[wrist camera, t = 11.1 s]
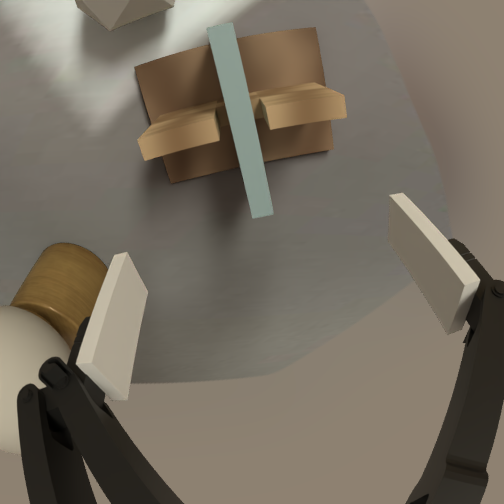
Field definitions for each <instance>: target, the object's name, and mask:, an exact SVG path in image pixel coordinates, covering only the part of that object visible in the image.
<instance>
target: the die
mask: <svg viewBox="0 0 504 504" xmlns="http://www.w3.org/2000/svg"><path fill="white" fill-rule="evenodd" d="M75 2H76V4H77V7H78V8H79V9H81V10H82V11H83V12H85V13H86V14H87V15H89V16H90V17H92V18H93V19H94V20H96V21H97V22H98V23H100V24H101V25H102V26H104V27H105V28H106V29H108V30H109V31H112V30H114V29H116V28H119V27H121V26H123V25H126V24H128V23H131V22H133V21H136V20H138V19H141V18H143V17H146V16H149V15H151V14H154V13H157V12H160V11H163V10H166V9H169V8H172V7H174V2H175V0H75Z"/></svg>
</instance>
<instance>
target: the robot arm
mask: <svg viewBox="0 0 504 504" xmlns="http://www.w3.org/2000/svg"><path fill="white" fill-rule="evenodd" d="M388 242H389V244H390V245H391V246H392V248H393V249H394V251H395V252H396V254H397V255H398V257H399V258H400V259H401V261H402V262H403V264H404V265H405V267H406V268H407V270H408V271H409V273H410V275H411V276H412V278H413V279H414V281H415V282H416V284H417V285H418V287H419V288H420V290H421V292H422V293H423V295H424V296H425V298H426V300H427V301H428V303H429V304H430V306H431V308H432V309H433V311H434V313H435V315H436V316H437V318H438V320H439V321H440V323H441V325H442V326H443V328H444V330H445V332H446V333H447V335H449V334H451V333H454V332H456V331H459V330H462V328H463V326H464V323H465V321H466V320H467V322H468V324H469V325H470V328H469V330H468V332H467V335H466V337H465V339H464V341H463V343H466V344H465V348H464V353H463V357H462V361H461V365H460V369H459V373H458V377H457V381H456V384H455V388H454V391H453V395H452V398H451V401H450V404H449V407H448V410H447V413H446V416H445V420H444V422H443V425H442V428H441V431H440V433H439V436H438V439H437V441H436V444H435V447H434V449H433V451H432V454H431V456H430V459H429V461H428V463H427V466H426V468H425V470H424V472H423V475H422V477H421V479H420V480H419V482H418V484H417V485H416V486H415V488H414V490H413V491H412V493H411V495H410V496H409V498H408V500H407V502H406V504H480V502H481V500H482V497H483V495H484V492H485V489H486V486H487V483H488V473H487V472H486V467H487V463H488V460H489V457H490V453H491V450H492V447H493V443H494V439H495V436H496V432H497V428H498V423H499V419H500V415H501V410H502V405H503V400H504V282H503V281H501V280H493V279H492V277H491V276H490V275H489V274H488V272H487V271H486V270H485V269H484V268H483V266H482V265H481V264H480V263H479V262H478V260H477V259H475V257H474V256H473V255H472V253H470V251H469V250H468V249H467V248H466V247H465V245H464V244H462V243H461V242H459V241H457V240H456V239H450V240H447V239H446V238H445V237H444V236H443V235H442V234H441V232H440V231H439V230H438V229H437V228H436V227H435V226H434V225H433V224H432V223H431V221H430V220H429V219H428V218H427V217H426V216H425V215H424V214H423V213H422V212H421V211H420V210H419V209H418V208H417V207H416V206H415V205H414V204H413V203H412V202H411V201H410V200H409V199H408V198H407V197H406V196H405V195H404V194H403V193H399V194H394V195H389V226H388ZM147 295H148V291H147V289H146V287H145V285H144V283H143V282H142V280H141V278H140V276H139V274H138V272H137V270H136V268H135V266H134V264H133V262H132V260H131V258H130V256H129V254H128V252H125V253H121V254H117V255H114V257H113V260H112V262H111V264H110V267H109V269H108V272H107V274H106V277H105V280H104V282H103V285H102V287H101V290H100V293H99V295H98V298H97V301H96V304H95V306H94V309H93V312H92V315H91V316H89V317H85V319H84V320H83V322H82V323H81V324H80V326H79V329H78V331H77V334H76V336H77V337H75V340H74V344H73V346H72V349H71V352H70V355H69V358H68V362H67V365H66V364H65V363H64V361H63V360H62V359H61V358H60V357H56V356H55V357H51V358H49V359H47V360H46V361H45V362H44V363H43V364H42V366H41V368H40V369H39V373H38V377H39V380H40V381H41V382H42V383H43V384H45V385H46V386H47V387H44V388H41V389H39V388H37V387H36V386H35V385H34V384H31V383H29V384H26V385H25V386H23V387H22V388H21V390H20V391H19V393H18V396H17V417H18V429H19V440H20V448H21V456H22V463H23V469H24V475H25V480H26V486H27V491H28V496H29V501H30V504H97V502H96V500H95V497H94V494H93V491H92V488H91V485H90V482H89V479H88V475H87V472H86V469H85V466H84V462H83V458H84V460H85V462H86V464H87V465H88V467H89V469H90V471H91V472H92V474H93V476H94V477H95V479H96V481H97V482H98V484H99V486H100V487H101V489H102V490H103V492H104V493H105V495H106V497H107V498H108V499H109V501H110V502H111V504H184V503H183V502H182V501H181V500H180V499H179V498H178V497H177V496H176V494H175V493H174V492H173V491H172V490H171V489H170V488H169V486H168V485H167V484H166V483H165V482H164V481H163V479H162V478H161V477H160V476H159V475H158V473H157V472H156V471H155V470H154V469H153V467H152V466H151V465H150V464H149V462H148V461H147V460H146V458H145V457H144V456H143V455H142V453H141V452H140V451H139V450H138V448H137V447H136V446H135V444H134V443H133V441H132V440H131V439H130V437H129V436H128V434H127V433H126V432H125V430H124V429H123V427H122V426H121V424H120V423H119V421H118V420H117V419H116V417H115V416H114V414H113V412H112V411H111V410H110V408H109V406H108V405H107V404H106V403H105V402H104V398H105V394H106V395H107V396H108V397H109V398H110V399H111V400H112V401H121V400H128V395H129V388H130V382H131V376H132V370H133V364H134V359H135V353H136V348H137V342H138V337H139V332H140V327H141V322H142V318H143V313H144V308H145V304H146V299H147ZM82 457H83V458H82Z"/></svg>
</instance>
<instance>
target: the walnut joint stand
mask: <svg viewBox="0 0 504 504" xmlns="http://www.w3.org/2000/svg"><path fill="white" fill-rule="evenodd" d="M236 40H237V44H238V48H239V52H240V57H241V61H242V65H243V70H244V74H245V79H246V83H247V88H248V92H249V97H250V101H251V106H252V110H253V115H254V120H255V124H256V129H257V134H258V138H259V143H260V148H261V153H262V158H263V162H266V161H271V160H276V159H281V158H287V157H292V156H297V155H303V154H309V153H314V152H320V151H326V150H333V149H334V147H333V138H332V129H331V121H330V120H333V119H340V118H347V115H346V106H345V98H344V95H342V94H340V93H338V92H336V91H333V90H331V89H329V88H326V85H325V78H324V72H323V66H322V60H321V54H320V49H319V43H318V38H317V33H316V27H313V28H302V29H293V30H285V31H278V32H271V33H264V34H258V35H252V36H247V37H242V38H236ZM134 68H135V71H136V75H137V78H138V82H139V85H140V88H141V92H142V95H143V98H144V102H145V105H146V108H147V111H148V115H149V118H150V121H151V124H152V125H151V126H150V127H149V128H148V129H147V130H146V131H145V132H144V133H143V134H142V135H141V136H140V138H139V139H138V143H139V146H140V149H141V152H142V155H143V157H144V160H145V161H146V160H149V159H152V158H156V157H159V156H162V158H163V161H164V164H165V167H166V170H167V173H168V176H169V179H170V182H171V184H172V183H176V182H180V181H183V180H187V179H191V178H195V177H199V176H203V175H208V174H212V173H216V172H220V171H225V170H229V169H233V168H238V167H240V163H239V159H238V155H237V151H236V147H235V143H234V139H233V134H232V130H231V126H230V122H229V118H228V114H227V110H226V106H225V101H224V97H223V93H222V89H221V85H220V81H219V77H218V73H217V69H216V65H215V61H214V57H213V53H212V49H211V44H209V45H205V46H201V47H197V48H194V49H190V50H186V51H183V52H179V53H176V54H172V55H169V56H166V57H163V58H159V59H156V60H153V61H150V62H147V63H144V64H141V65H139V66H136V67H134Z"/></svg>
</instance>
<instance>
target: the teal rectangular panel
mask: <svg viewBox="0 0 504 504" xmlns="http://www.w3.org/2000/svg"><path fill="white" fill-rule="evenodd" d="M207 32H208V36H209V40H210V44H211V49H212V53H213V57H214V61H215V65H216V69H217V73H218V77H219V81H220V85H221V89H222V93H223V97H224V101H225V106H226V110H227V114H228V118H229V122H230V126H231V130H232V134H233V139H234V143H235V147H236V151H237V155H238V159H239V163H240V168H241V172H242V176H243V180H244V184H245V189H246V193H247V197H248V201H249V205H250V210H251V214H252V218H258V217H263V216H268V215H273V214H274V213H273V207H272V202H271V197H270V192H269V187H268V182H267V177H266V172H265V167H264V162H263V158H262V153H261V148H260V143H259V138H258V134H257V129H256V124H255V120H254V115H253V110H252V106H251V101H250V97H249V92H248V88H247V83H246V79H245V74H244V70H243V65H242V61H241V57H240V52H239V48H238V44H237V40H236V35H235V31H234V27H233V23H232V22H231V23H226V24H222V25H217V26H213V27H209V28H207Z"/></svg>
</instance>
